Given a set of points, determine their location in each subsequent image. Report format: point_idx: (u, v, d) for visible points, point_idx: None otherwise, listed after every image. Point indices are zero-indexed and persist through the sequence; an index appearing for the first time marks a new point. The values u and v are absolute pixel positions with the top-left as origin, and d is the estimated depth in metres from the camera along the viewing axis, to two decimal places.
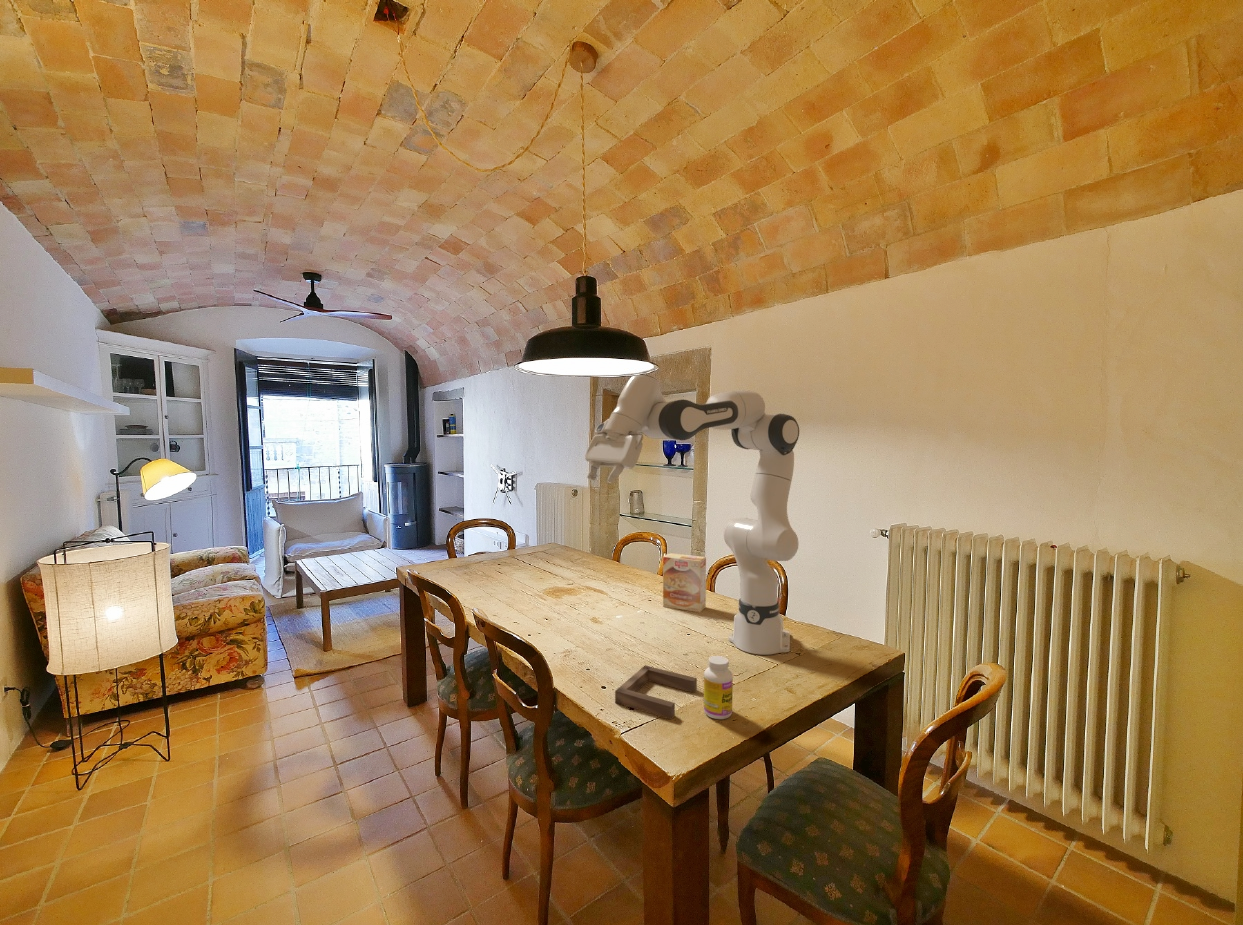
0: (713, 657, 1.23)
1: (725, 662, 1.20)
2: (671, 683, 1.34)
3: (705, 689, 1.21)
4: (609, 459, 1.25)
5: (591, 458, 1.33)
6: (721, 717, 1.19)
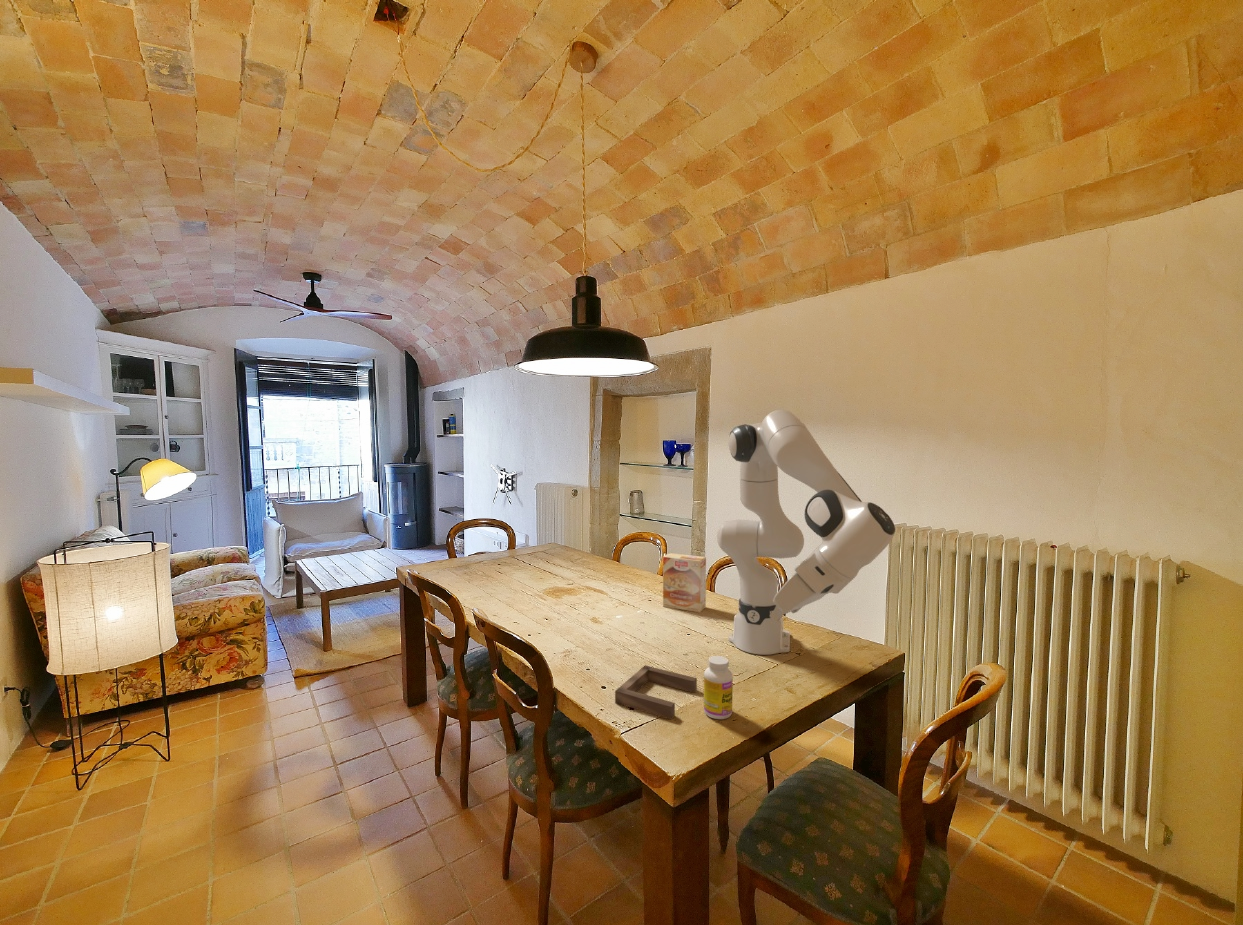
0: (713, 657, 1.23)
1: (725, 662, 1.20)
2: (671, 683, 1.34)
3: (705, 689, 1.21)
4: (811, 602, 1.10)
5: (793, 610, 1.03)
6: (721, 717, 1.19)
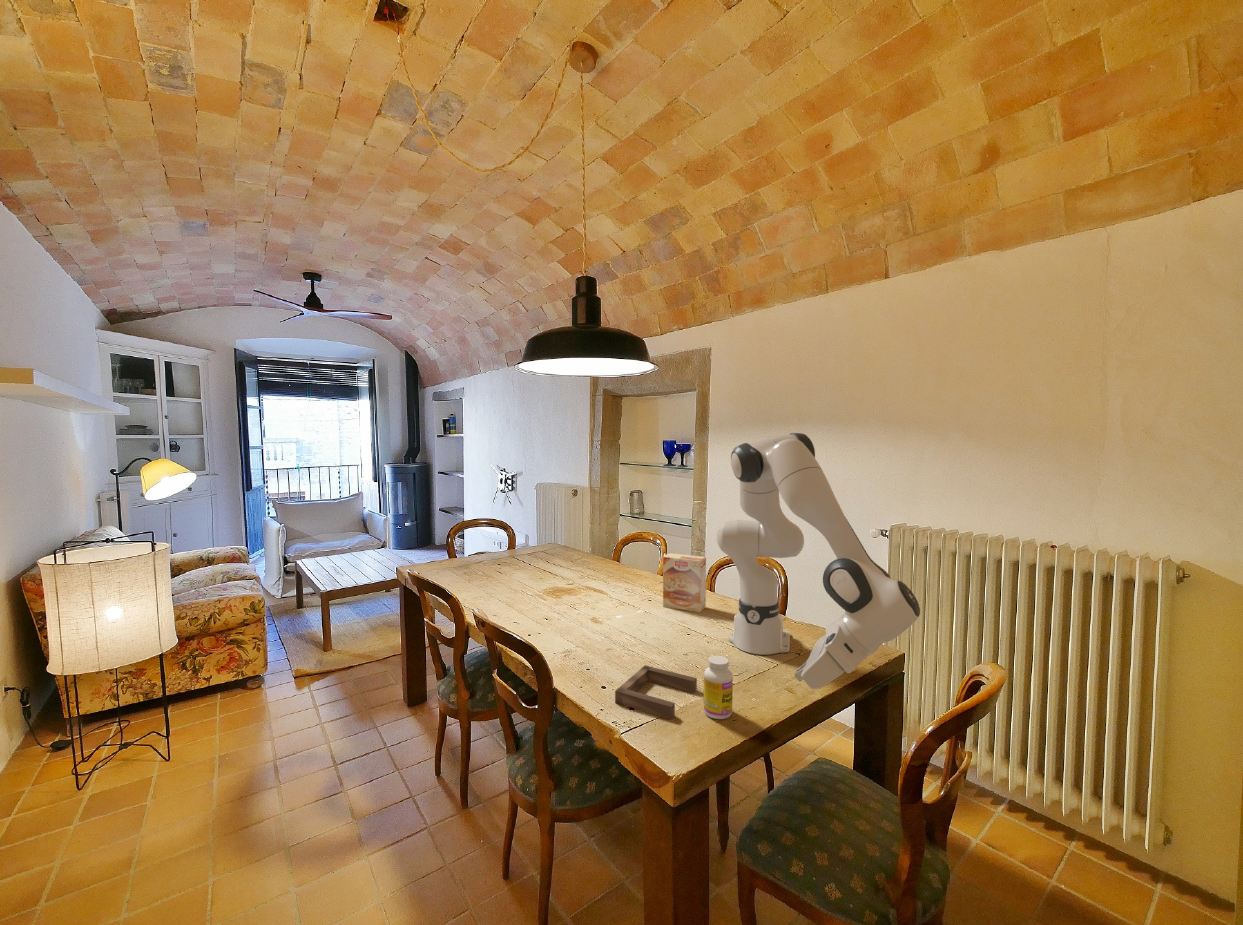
0: (713, 657, 1.23)
1: (725, 662, 1.20)
2: (671, 683, 1.34)
3: (705, 689, 1.21)
4: None
5: None
6: (721, 717, 1.19)
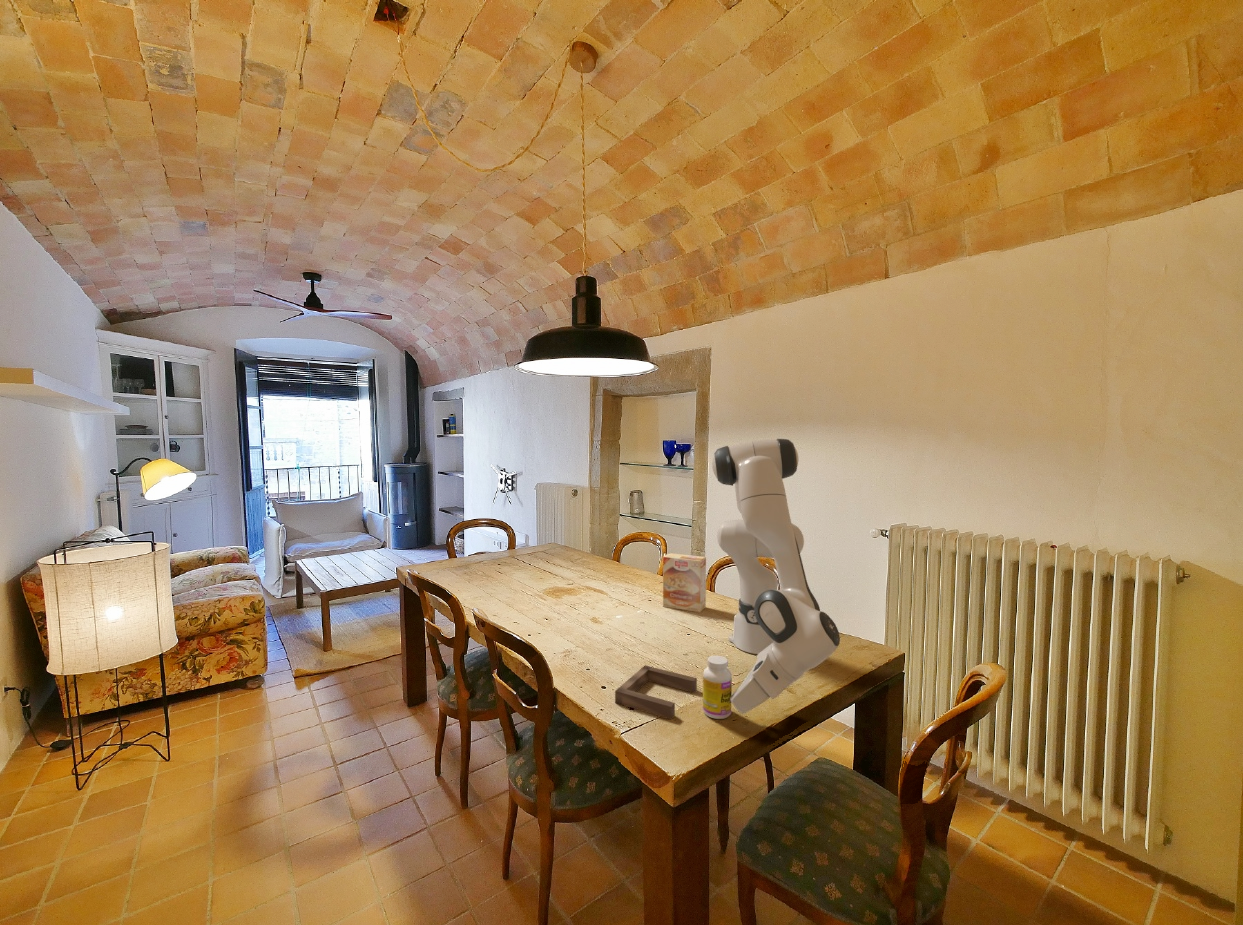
0: (712, 657, 1.23)
1: (724, 662, 1.20)
2: (671, 683, 1.34)
3: (704, 689, 1.21)
4: None
5: None
6: (720, 717, 1.19)
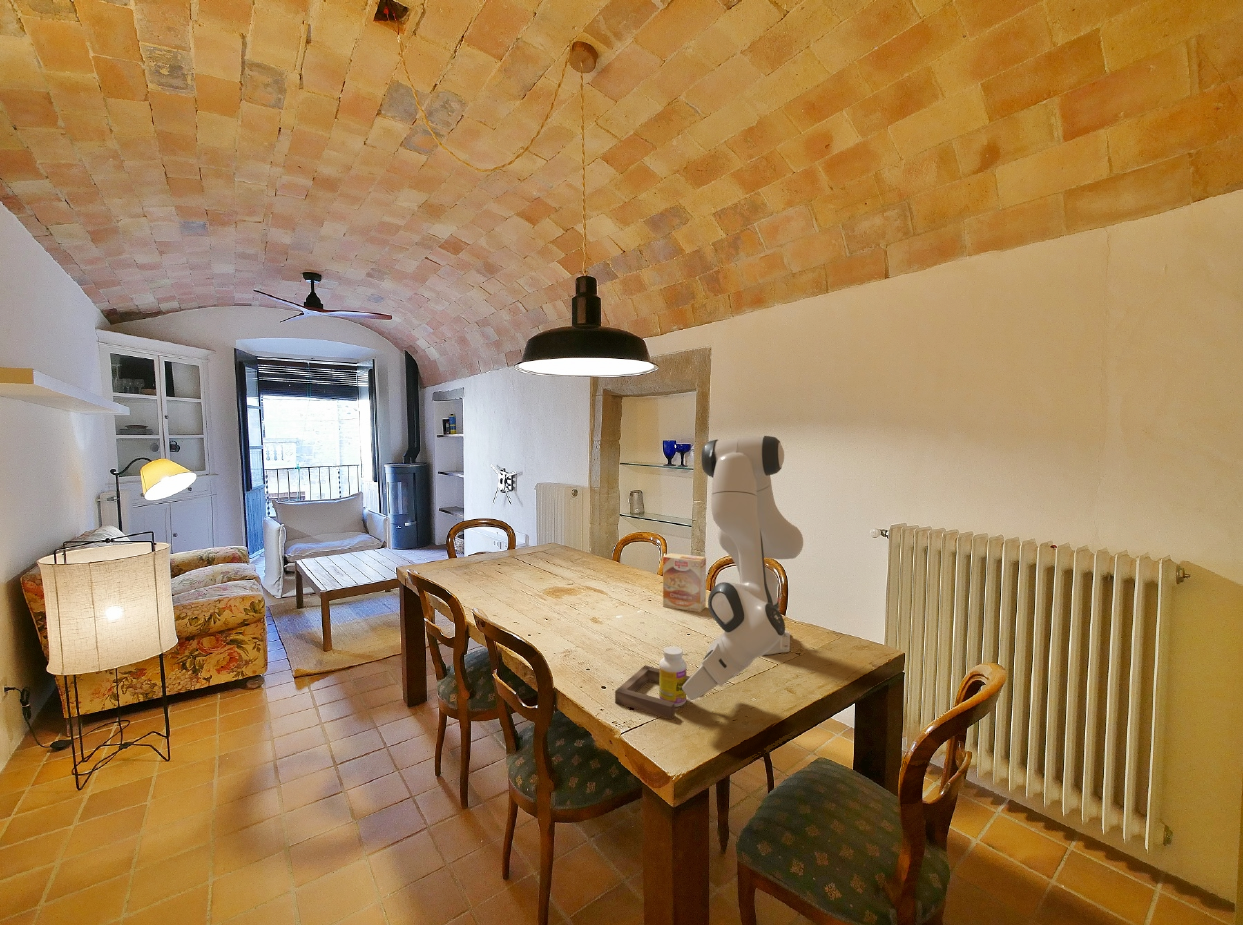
0: (668, 648, 1.28)
1: (679, 652, 1.25)
2: None
3: (660, 678, 1.26)
4: None
5: None
6: (675, 705, 1.24)
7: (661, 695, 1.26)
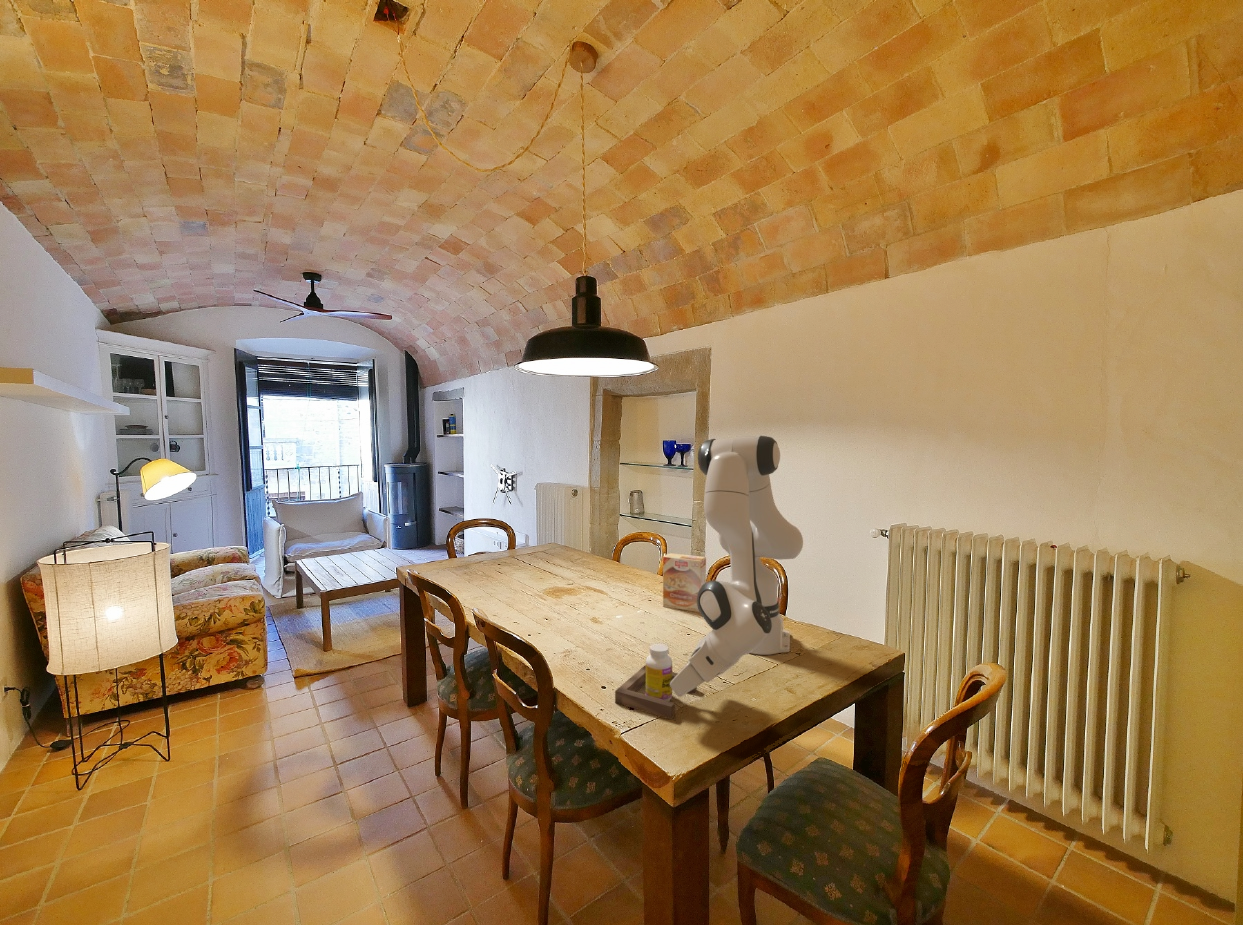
0: (654, 645, 1.30)
1: (665, 649, 1.27)
2: None
3: (647, 675, 1.28)
4: None
5: None
6: None
7: (647, 692, 1.27)
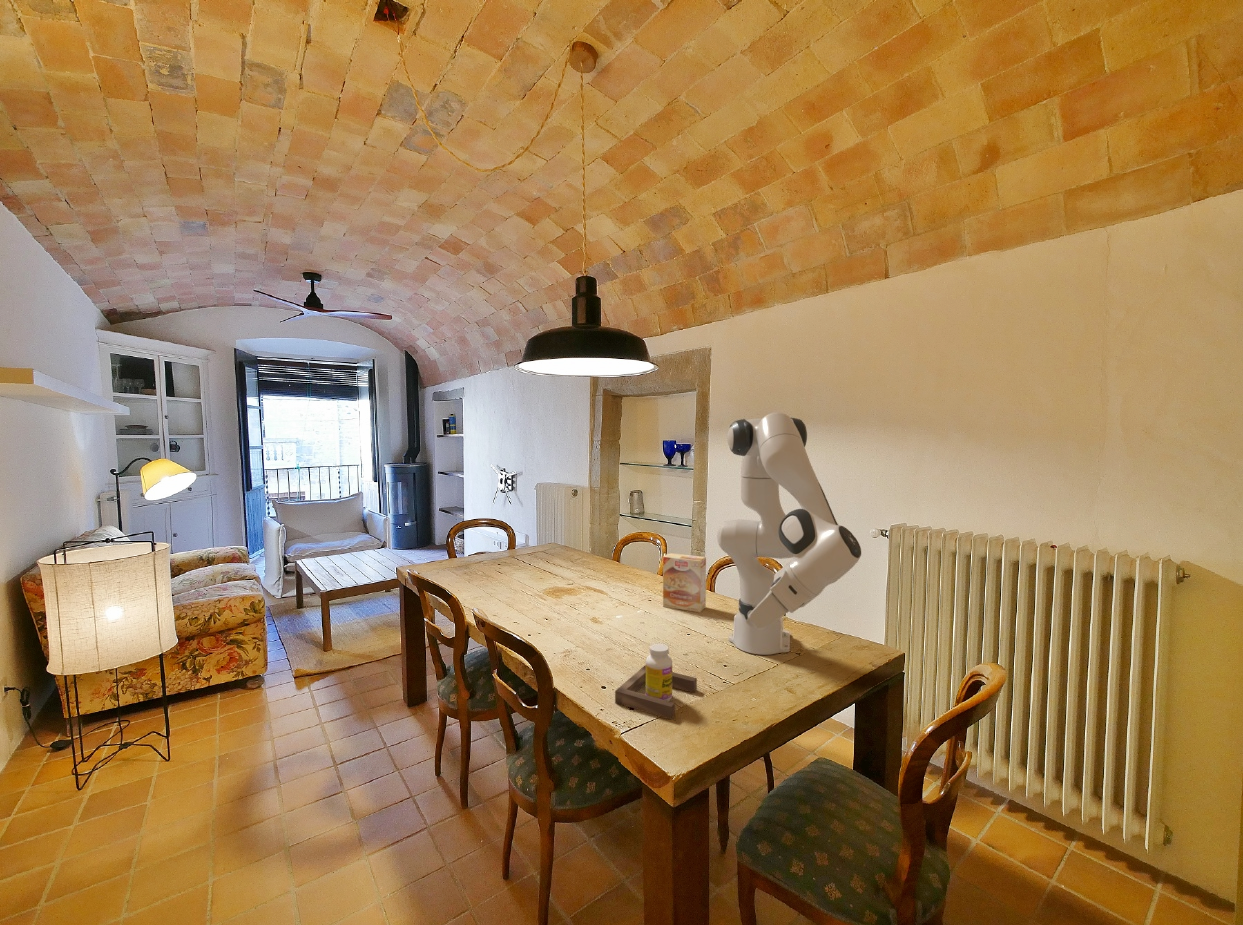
0: (654, 645, 1.30)
1: (665, 649, 1.27)
2: None
3: (647, 675, 1.28)
4: None
5: None
6: None
7: (647, 692, 1.27)
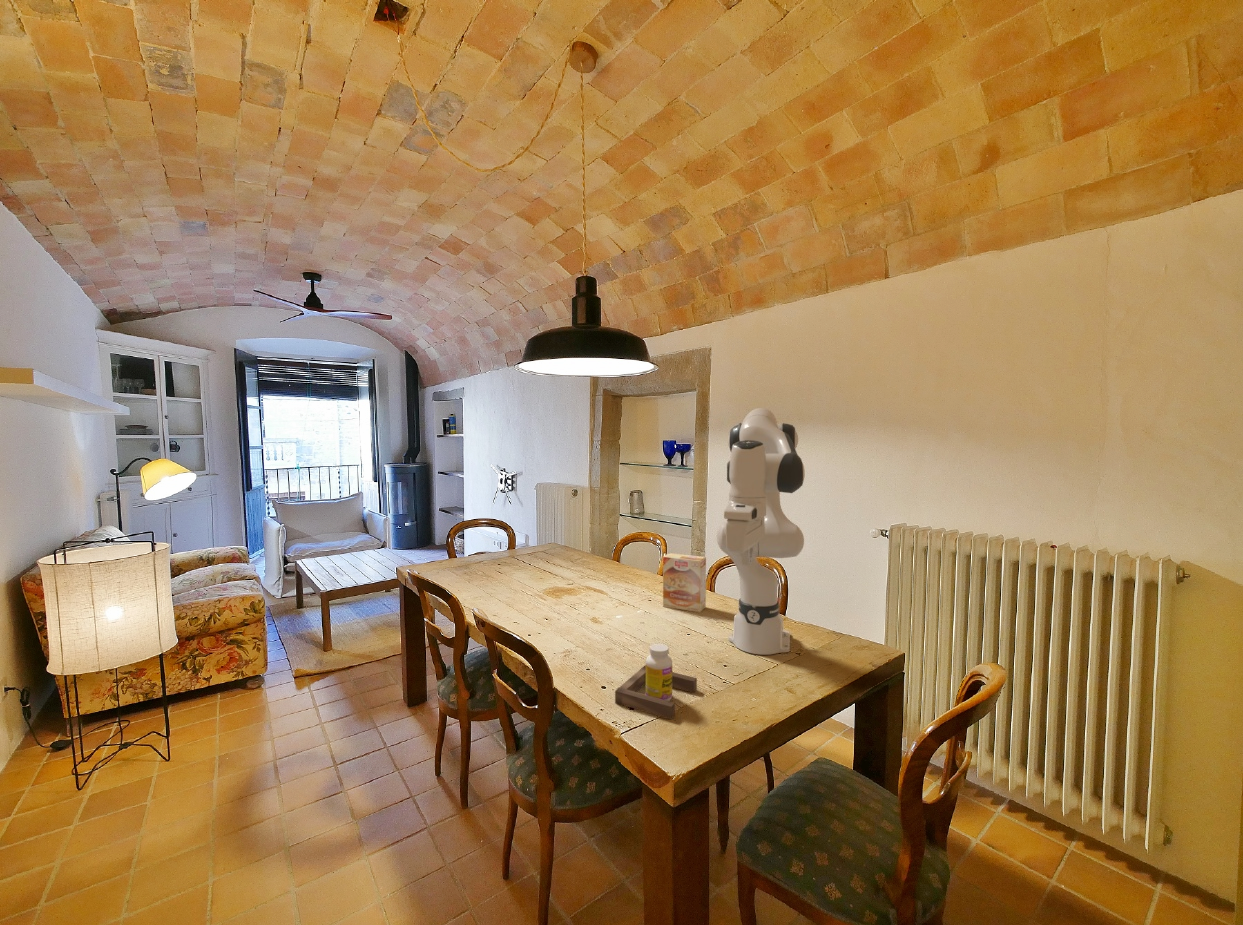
0: (654, 645, 1.30)
1: (665, 649, 1.27)
2: None
3: (647, 675, 1.28)
4: (758, 541, 1.28)
5: (747, 549, 1.20)
6: None
7: (647, 692, 1.27)
